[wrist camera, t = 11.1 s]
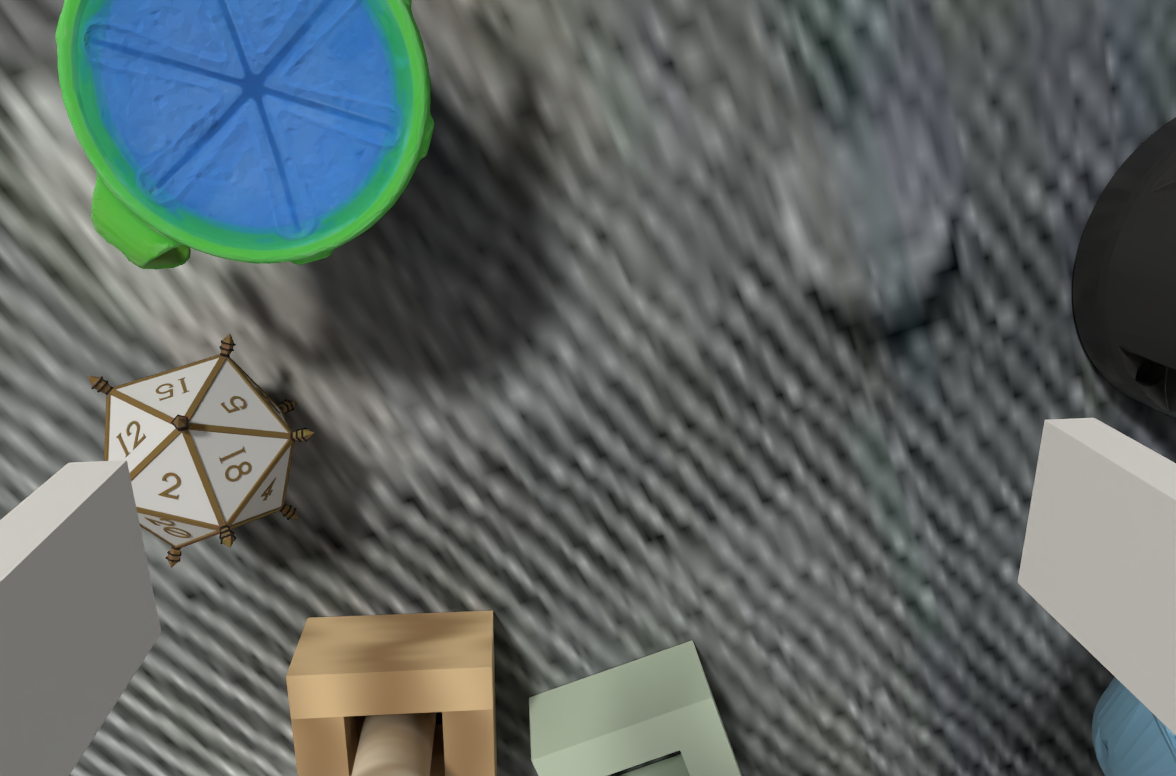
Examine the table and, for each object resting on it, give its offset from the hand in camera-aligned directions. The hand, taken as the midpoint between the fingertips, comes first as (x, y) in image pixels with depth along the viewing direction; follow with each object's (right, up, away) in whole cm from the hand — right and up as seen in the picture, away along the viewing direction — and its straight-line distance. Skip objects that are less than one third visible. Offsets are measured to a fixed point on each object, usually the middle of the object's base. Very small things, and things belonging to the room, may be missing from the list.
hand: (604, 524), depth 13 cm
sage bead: (+2, -17, +34) cm, 38 cm away
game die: (-16, +1, +27) cm, 31 cm away
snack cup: (-11, +14, +22) cm, 29 cm away
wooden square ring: (-10, -13, +32) cm, 36 cm away
